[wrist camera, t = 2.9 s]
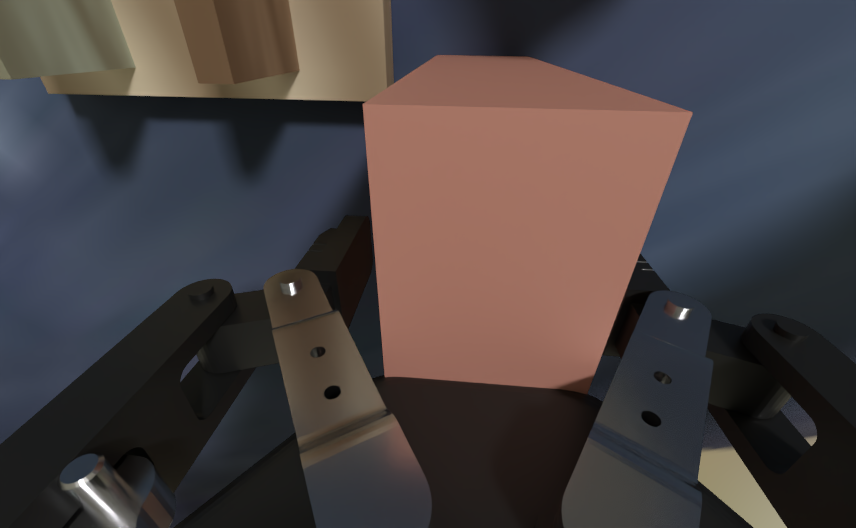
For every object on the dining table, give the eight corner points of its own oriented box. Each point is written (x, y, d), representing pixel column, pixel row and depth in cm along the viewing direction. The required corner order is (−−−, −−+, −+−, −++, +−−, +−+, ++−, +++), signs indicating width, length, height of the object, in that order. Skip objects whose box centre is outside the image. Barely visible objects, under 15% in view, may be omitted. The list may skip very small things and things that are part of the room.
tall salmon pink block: (528, 56, 14) (693, 112, 4) (496, 288, 20) (527, 553, 10) (437, 55, 14) (363, 103, 4) (432, 284, 20) (397, 538, 10)
